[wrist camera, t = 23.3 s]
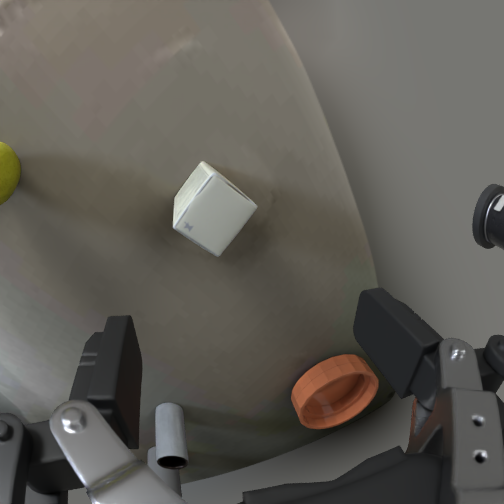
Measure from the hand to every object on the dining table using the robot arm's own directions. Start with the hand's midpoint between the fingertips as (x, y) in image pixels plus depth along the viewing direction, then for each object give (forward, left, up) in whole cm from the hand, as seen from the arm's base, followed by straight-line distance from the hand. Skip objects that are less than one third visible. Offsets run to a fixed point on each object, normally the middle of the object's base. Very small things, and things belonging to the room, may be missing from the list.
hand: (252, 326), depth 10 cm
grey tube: (+8, +34, -24) cm, 43 cm away
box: (0, 0, -24) cm, 24 cm away
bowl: (-19, +33, -24) cm, 45 cm away
